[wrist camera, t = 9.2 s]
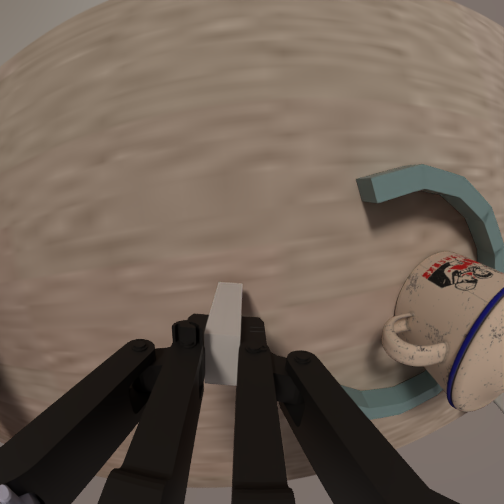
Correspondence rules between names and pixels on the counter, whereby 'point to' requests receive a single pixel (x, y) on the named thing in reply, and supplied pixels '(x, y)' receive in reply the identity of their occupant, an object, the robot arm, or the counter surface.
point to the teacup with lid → (452, 328)
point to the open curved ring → (488, 254)
